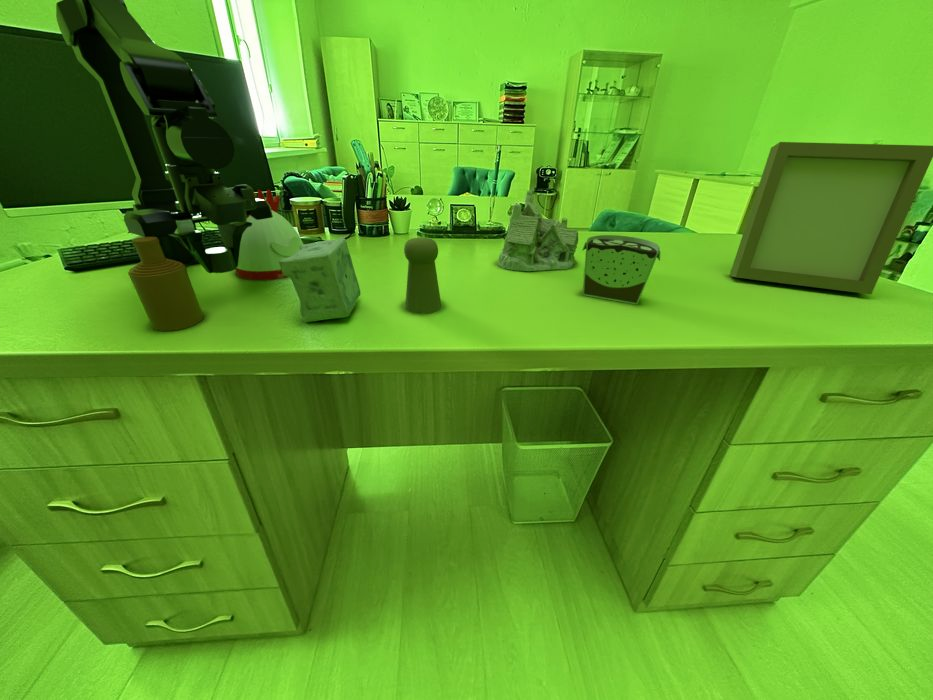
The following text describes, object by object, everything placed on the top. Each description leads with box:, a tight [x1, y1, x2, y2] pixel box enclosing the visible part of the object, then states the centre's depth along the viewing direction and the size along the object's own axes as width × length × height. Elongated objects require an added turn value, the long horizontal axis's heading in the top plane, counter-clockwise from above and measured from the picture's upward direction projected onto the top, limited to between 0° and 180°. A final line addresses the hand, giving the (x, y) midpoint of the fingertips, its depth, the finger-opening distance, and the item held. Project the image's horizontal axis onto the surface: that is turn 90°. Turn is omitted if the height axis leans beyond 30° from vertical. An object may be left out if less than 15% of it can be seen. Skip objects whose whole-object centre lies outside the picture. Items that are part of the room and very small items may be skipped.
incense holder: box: [279, 237, 361, 323], centre depth 56 cm, size 10×8×10 cm
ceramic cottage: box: [497, 190, 579, 272], centre depth 80 cm, size 16×16×15 cm
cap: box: [205, 246, 236, 274], centre depth 60 cm, size 4×4×3 cm
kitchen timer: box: [235, 189, 304, 281], centre depth 72 cm, size 14×14×15 cm
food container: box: [582, 234, 662, 305], centre depth 65 cm, size 12×6×10 cm, turn 65°
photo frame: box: [729, 141, 933, 295], centre depth 72 cm, size 15×22×25 cm
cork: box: [403, 237, 443, 315], centre depth 58 cm, size 6×6×11 cm
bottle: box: [127, 236, 205, 332], centre depth 51 cm, size 6×6×12 cm
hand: (222, 269), depth 61 cm, fingers closed on cap, 4 cm apart
